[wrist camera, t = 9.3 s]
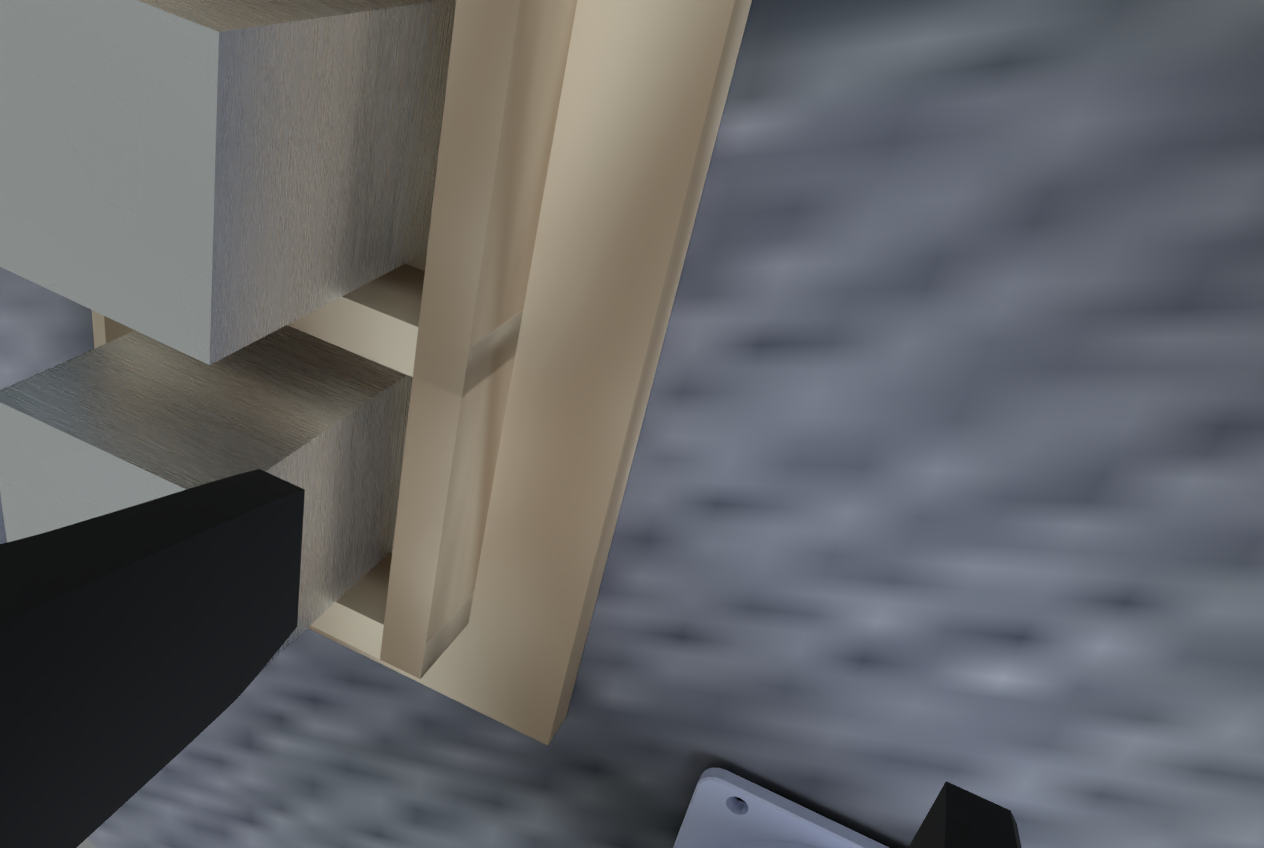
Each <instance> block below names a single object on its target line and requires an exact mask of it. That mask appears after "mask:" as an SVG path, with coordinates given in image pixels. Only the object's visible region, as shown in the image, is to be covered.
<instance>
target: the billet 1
mask: <svg viewBox="0 0 1264 848" xmlns="http://www.w3.org/2000/svg"><path fill="white" fill-rule="evenodd" d="M455 9H456V0H0V267H2V268H4V269H6V270H8V271H10V272H12V273H14V274H16V275H19V276H21V277H23V278H25V279H27V280H29V281H31V282H33V283H36V284H38V285H40V286H42V287H44V288H46V289H48V290H51V291H53V292H55V293H57V294H59V295H61V296H63V297H65V298H68V299H70V300H72V301H74V302H76V303H78V304H80V305H82V306H85V307H87V308H89V309H91V310H93V311H95V312H97V313H99V314H102V315H104V316H106V317H108V318H110V319H112V320H114V321H117V322H119V323H121V324H123V325H125V326H127V327H129V328H131V329H134V330H136V331H138V332H140V333H142V334H144V335H146V336H148V337H151V338H153V339H155V340H157V341H159V342H161V343H163V344H166V345H168V346H170V347H172V348H174V349H176V350H178V351H180V352H183V353H185V354H187V355H189V356H191V357H193V358H195V359H197V360H200V361H202V362H204V363H206V364H208V365H211V364H213V363H214V362H216V361H218V360H220V359H222V358H224V357H226V356H228V355H230V354H232V353H234V352H236V351H238V350H240V349H241V348H243V347H245V346H247V345H249V344H251V343H253V342H255V341H257V340H259V339H261V338H263V337H265V336H266V335H268V334H270V333H272V332H274V331H276V330H278V329H280V328H282V327H284V326H286V325H288V324H290V323H292V322H293V321H295V320H297V319H299V318H301V317H303V316H305V315H307V314H309V313H311V312H313V311H315V310H317V309H319V308H320V307H322V306H324V305H326V304H328V303H330V302H332V301H334V300H336V299H338V298H340V297H342V296H344V295H346V294H347V293H349V292H351V291H353V290H355V289H357V288H359V287H361V286H363V285H365V284H367V283H369V282H371V281H373V280H374V279H376V278H378V277H380V276H382V275H384V274H386V273H388V272H390V271H392V270H394V269H396V268H398V267H400V266H401V265H403V264H405V263H407V262H409V261H411V260H413V259H415V258H417V257H419V256H421V255H423V254H425V253H426V252H427V249H428V241H429V232H430V224H431V215H432V206H433V198H434V189H435V181H436V172H437V163H438V155H439V146H440V138H441V129H442V120H443V112H444V103H445V95H446V86H447V77H448V69H449V60H450V52H451V43H452V34H453V26H454V17H455Z"/></svg>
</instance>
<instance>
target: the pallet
mask: <svg viewBox="0 0 1264 848" xmlns="http://www.w3.org/2000/svg"><path fill="white" fill-rule="evenodd" d="M751 2H752V0H456V9H455V17H454V26H453V34H452V43H451V52H450V60H449V69H448V77H447V86H446V95H445V103H444V112H443V120H442V129H441V138H440V146H439V155H438V163H437V172H436V181H435V189H434V198H433V206H432V215H431V224H430V232H429V241H428V249H427V252H426V253H425V254H423V255H421V256H419V257H417V258H415V259H413V260H411V261H409V262H407V263H405V264H403V265H401V266H400V267H398V268H396V269H394V270H392V271H390V272H388V273H386V274H384V275H382V276H380V277H378V278H376V279H374V280H373V281H371V282H369V283H367V284H365V285H363V286H361V287H359V288H357V289H355V290H353V291H351V292H349V293H347V294H346V295H344V296H342V297H340V298H338V299H336V300H334V301H332V302H330V303H328V304H326V305H324V306H322V307H320V308H319V309H317V310H315V311H313V312H311V313H309V314H307V315H305V316H303V317H301V318H299V319H297V320H295V321H293V322H292V323H290V324H288V326H290V327H293V328H295V329H298V330H300V331H302V332H305V333H307V334H310V335H312V336H314V337H317V338H319V339H322V340H324V341H327V342H329V343H331V344H334V345H336V346H339V347H341V348H343V349H346V350H348V351H351V352H353V353H356V354H358V355H360V356H363V357H365V358H368V359H370V360H372V361H375V362H377V363H380V364H382V365H385V366H387V367H389V368H392V369H394V370H397V371H399V372H401V373H404V374H406V375H409V376H411V377H413V379H412V387H411V396H410V404H409V413H408V422H407V430H406V439H405V447H404V456H403V465H402V473H401V482H400V490H399V499H398V508H397V516H396V525H395V533H394V542H393V550H391V551H390V552H389V553H388V554H387V555H386V556H385V557H384V558H383V559H382V560H381V561H379V562H378V563H377V564H376V565H375V566H374V567H373V568H372V569H371V570H370V571H369V572H368V573H366V574H365V575H364V576H363V577H362V578H361V579H360V580H359V581H358V582H357V583H356V584H355V585H353V586H352V587H351V588H350V589H349V590H348V591H347V592H346V593H345V594H344V595H343V596H341V597H340V598H339V599H338V600H337V601H336V602H335V603H334V604H333V605H332V606H331V607H330V608H328V609H327V610H326V611H325V612H324V613H323V614H322V615H321V616H320V617H319V618H318V619H317V620H315V621H314V622H313V623H312V624H311V625H310V626H309V627H308V628H309V629H311V630H313V631H315V632H317V633H319V634H321V635H323V636H325V637H327V638H329V639H331V640H333V641H335V642H337V643H340V644H342V645H344V646H346V647H348V648H350V649H352V650H354V651H356V652H358V653H360V654H362V655H364V656H366V657H368V658H370V659H372V660H374V661H376V662H378V663H380V664H382V665H384V666H386V667H388V668H390V669H393V670H395V671H397V672H399V673H401V674H403V675H405V676H407V677H409V678H411V679H413V680H415V681H417V682H419V683H421V684H423V685H425V686H427V687H429V688H431V689H433V690H435V691H437V692H439V693H441V694H443V695H446V696H448V697H450V698H452V699H454V700H456V701H458V702H460V703H462V704H464V705H466V706H468V707H470V708H472V709H474V710H476V711H478V712H480V713H482V714H484V715H486V716H488V717H490V718H492V719H494V720H496V721H499V722H501V723H503V724H505V725H507V726H509V727H511V728H513V729H515V730H517V731H519V732H521V733H523V734H525V735H527V736H529V737H531V738H533V739H535V740H537V741H539V742H541V743H543V744H545V745H547V746H548V745H549V743H550V742H551V740H552V738H553V737H554V735H555V734H556V732H557V731H558V729H559V728H560V726H561V724H562V723H563V721H564V720H565V718H566V716H567V712H568V708H569V704H570V700H571V696H572V692H573V689H574V685H575V681H576V677H577V673H578V669H579V665H580V662H581V658H582V654H583V650H584V646H585V642H586V638H587V635H588V631H589V627H590V623H591V619H592V615H593V611H594V608H595V604H596V600H597V596H598V592H599V588H600V584H601V581H602V577H603V573H604V569H605V565H606V561H607V557H608V554H609V550H610V546H611V542H612V538H613V534H614V530H615V527H616V523H617V519H618V515H619V511H620V507H621V503H622V500H623V496H624V492H625V488H626V484H627V480H628V476H629V473H630V469H631V465H632V461H633V457H634V453H635V449H636V446H637V442H638V438H639V434H640V430H641V426H642V422H643V419H644V415H645V411H646V407H647V403H648V399H649V396H650V392H651V388H652V384H653V380H654V376H655V372H656V369H657V365H658V361H659V357H660V353H661V349H662V345H663V342H664V338H665V334H666V330H667V326H668V322H669V318H670V315H671V311H672V307H673V303H674V299H675V295H676V291H677V288H678V284H679V280H680V276H681V272H682V268H683V264H684V261H685V257H686V253H687V249H688V245H689V241H690V237H691V234H692V230H693V226H694V222H695V218H696V214H697V210H698V207H699V203H700V199H701V195H702V191H703V187H704V183H705V180H706V176H707V172H708V168H709V164H710V160H711V156H712V153H713V149H714V145H715V141H716V137H717V133H718V129H719V126H720V122H721V118H722V114H723V110H724V106H725V102H726V99H727V95H728V91H729V87H730V83H731V79H732V75H733V72H734V68H735V64H736V60H737V56H738V52H739V48H740V45H741V41H742V37H743V33H744V29H745V25H746V21H747V18H748V14H749V10H750V6H751ZM92 321H93V335H94V349H95V348H97V347H99V346H101V345H104V344H106V343H108V342H111V341H113V340H115V339H117V338H120V337H122V336H124V335H126V334H129V333H131V332H133V331H135V330H134V329H131V328H129V327H127V326H125V325H123V324H121V323H119V322H117V321H114V320H112V319H110V318H108V317H106V316H104V315H102V314H99V313H97V312H95V311H93V310H92Z"/></svg>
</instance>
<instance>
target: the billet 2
mask: <svg viewBox="0 0 1264 848" xmlns="http://www.w3.org/2000/svg"><path fill="white" fill-rule="evenodd" d="M412 379H413V377H411V376H409V375H406V374H404V373H401V372H399V371H397V370H394V369H392V368H389V367H387V366H385V365H382V364H380V363H377V362H375V361H372V360H370V359H368V358H365V357H363V356H360V355H358V354H356V353H353V352H351V351H348V350H346V349H343V348H341V347H339V346H336V345H334V344H331V343H329V342H327V341H324V340H322V339H319V338H317V337H314V336H312V335H310V334H307V333H305V332H302V331H300V330H298V329H295V328H293V327H290V326H288V325H286V326H284V327H282V328H280V329H278V330H276V331H274V332H272V333H270V334H268V335H266V336H265V337H263V338H261V339H259V340H257V341H255V342H253V343H251V344H249V345H247V346H245V347H243V348H241V349H240V350H238V351H236V352H234V353H232V354H230V355H228V356H226V357H224V358H222V359H220V360H218V361H216V362H214V363H213V364H211V365H208V364H206V363H204V362H202V361H200V360H197V359H195V358H193V357H191V356H189V355H187V354H185V353H183V352H180V351H178V350H176V349H174V348H172V347H170V346H168V345H166V344H163V343H161V342H159V341H157V340H155V339H153V338H151V337H148V336H146V335H144V334H142V333H140V332H138V331H136V330H135V331H133V332H131V333H129V334H126V335H124V336H122V337H120V338H117V339H115V340H113V341H111V342H108V343H106V344H104V345H101V346H99V347H97V348H95V349H92V350H90V351H88V352H86V353H83V354H81V355H79V356H77V357H74V358H72V359H70V360H68V361H65V362H63V363H61V364H58V365H56V366H54V367H52V368H49V369H47V370H45V371H43V372H40V373H38V374H36V375H34V376H31V377H29V378H27V379H25V380H22V381H20V382H18V383H15V384H13V385H11V386H9V387H6V388H4V389H2V390H0V494H1V501H2V509H3V516H4V523H5V531H6V538H7V543H8V542H11V541H15V540H19V539H23V538H26V537H30V536H34V535H38V534H42V533H45V532H48V531H52V530H55V529H59V528H62V527H65V526H69V525H72V524H75V523H79V522H82V521H85V520H88V519H92V518H95V517H98V516H102V515H105V514H108V513H112V512H115V511H118V510H122V509H125V508H128V507H132V506H135V505H138V504H141V503H145V502H148V501H151V500H154V499H157V498H161V497H164V496H167V495H170V494H174V493H177V492H180V491H183V490H186V489H190V488H193V487H196V486H200V485H203V484H206V483H210V482H213V481H216V480H220V479H223V478H227V477H230V476H234V475H237V474H241V473H245V472H249V471H253V470H257V469H261V470H263V471H265V472H267V473H270V474H272V475H274V476H276V477H278V478H281V479H283V480H285V481H287V482H289V483H291V484H294V485H296V486H298V487H300V488H302V489H305V496H304V514H303V532H302V550H301V567H300V585H299V603H298V621H297V628H296V629H295V630H294V631H293V633H292V634H291V635H290V636H289V637H288V639H287V640H286V641H285V642H284V644H283V645H282V646H281V647H280V649H279V650H278V651H277V652H276V653H275V655H274V656H273V657H272V658H271V660H270V661H269V662H268V663H267V665H268V664H269V663H270V662H271V661H272V660H273V659H274V658H275V657H276V656H277V655H279V654H280V653H281V652H282V651H283V650H284V649H285V648H286V647H287V646H288V645H289V644H290V643H292V642H293V641H294V640H295V639H296V638H297V637H298V636H299V635H300V634H301V633H302V632H304V631H305V630H306V629H307V628H308V627H309V626H310V625H311V624H312V623H313V622H314V621H315V620H317V619H318V618H319V617H320V616H321V615H322V614H323V613H324V612H325V611H326V610H327V609H328V608H330V607H331V606H332V605H333V604H334V603H335V602H336V601H337V600H338V599H339V598H340V597H341V596H343V595H344V594H345V593H346V592H347V591H348V590H349V589H350V588H351V587H352V586H353V585H355V584H356V583H357V582H358V581H359V580H360V579H361V578H362V577H363V576H364V575H365V574H366V573H368V572H369V571H370V570H371V569H372V568H373V567H374V566H375V565H376V564H377V563H378V562H379V561H381V560H382V559H383V558H384V557H385V556H386V555H387V554H388V553H389V552H390V551H391V550H393V542H394V533H395V525H396V516H397V508H398V499H399V490H400V482H401V473H402V465H403V456H404V447H405V439H406V430H407V422H408V413H409V404H410V396H411V387H412ZM267 665H266V666H267ZM266 666H265V667H266Z"/></svg>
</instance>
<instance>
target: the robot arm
mask: <svg viewBox="0 0 1264 848" xmlns="http://www.w3.org/2000/svg"><path fill="white" fill-rule="evenodd" d="M304 496H305V489H302V488H300V487H298V486H296V485H294V484H291V483H289V482H287V481H285V480H283V479H281V478H278V477H276V476H274V475H272V474H270V473H267V472H265V471H263V470H261V469H257V470H253V471H249V472H245V473H241V474H237V475H234V476H230V477H227V478H223V479H220V480H216V481H213V482H210V483H206V484H203V485H200V486H196V487H193V488H190V489H186V490H183V491H180V492H177V493H174V494H170V495H167V496H164V497H161V498H157V499H154V500H151V501H148V502H145V503H141V504H138V505H135V506H132V507H128V508H125V509H122V510H118V511H115V512H112V513H108V514H105V515H102V516H98V517H95V518H92V519H88V520H85V521H82V522H79V523H75V524H72V525H69V526H65V527H62V528H59V529H55V530H52V531H48V532H45V533H42V534H38V535H34V536H30V537H26V538H23V539H19V540H15V541H11V542H8V543H4V544H0V848H76V847H78V846H79V845H80V844H81V843H82V842H83V841H84V840H85V839H86V838H87V837H88V836H89V835H91V834H92V833H93V832H94V831H95V830H96V829H97V828H98V827H99V826H100V825H101V824H103V823H104V822H105V821H106V820H107V819H108V818H109V817H110V816H111V815H112V814H113V813H114V812H116V811H117V810H118V809H119V808H120V807H121V806H122V805H123V804H124V803H125V802H126V801H128V800H129V799H130V798H131V797H132V796H133V795H134V794H135V793H136V792H137V791H138V790H140V789H141V788H142V787H143V786H144V785H145V784H146V783H147V782H148V781H149V780H150V779H151V778H153V777H154V776H155V775H156V774H157V773H158V772H159V771H160V770H161V769H162V768H163V767H165V766H166V765H167V764H168V763H169V762H170V761H171V760H172V759H173V758H174V757H175V756H177V755H178V754H179V753H180V752H181V751H182V750H183V749H184V748H185V747H186V746H187V745H188V744H189V743H191V742H192V741H193V740H194V739H195V738H196V737H197V736H198V735H199V734H200V733H201V732H202V731H203V730H204V729H205V728H207V727H208V726H209V725H210V724H211V723H212V722H213V721H214V720H215V719H216V718H217V717H218V716H219V715H220V714H221V713H222V712H224V711H225V710H226V709H227V708H228V707H229V706H230V705H231V704H232V703H233V702H234V701H235V700H236V699H237V698H238V697H239V696H240V695H241V693H242V692H243V691H244V690H245V689H246V688H247V687H248V685H249V684H250V683H251V682H252V681H253V680H254V678H255V677H256V676H257V675H258V674H259V673H260V672H261V670H262V669H263V668H264V667H265V666H266V665H267V663H268V662H269V661H270V660H271V658H272V657H273V656H274V655H275V653H276V652H277V651H278V650H279V649H280V647H281V646H282V645H283V644H284V642H285V641H286V640H287V639H288V637H289V636H290V635H291V634H292V633H293V631H294V630H295V629H296V628H297V621H298V603H299V585H300V567H301V550H302V532H303V514H304ZM735 797H738V798H741V799H742V800H744V801H745V802H742V801H739V800H737V799H736V798H735ZM673 848H889V847H887V846H885V845H883V844H881V843H879V842H876V841H874V840H872V839H870V838H868V837H866V836H864V835H862V834H860V833H858V832H855V831H853V830H851V829H849V828H847V827H845V826H843V825H841V824H839V823H836V822H834V821H832V820H830V819H828V818H826V817H824V816H822V815H820V814H818V813H815V812H813V811H811V810H809V809H807V808H805V807H803V806H801V805H799V804H797V803H794V802H792V801H790V800H788V799H786V798H784V797H782V796H780V795H778V794H776V793H773V792H771V791H769V790H767V789H765V788H763V787H761V786H759V785H757V784H755V783H752V782H750V781H748V780H746V779H744V778H742V777H740V776H738V775H736V774H734V773H731V772H729V771H727V770H724V769H721V768H709V769H707V770H705V771H704V772H703V773H702V775H701V776H700V779H699V781H698V783H697V785H696V788H695V791H694V793H693V796H692V799H691V801H690V804H689V807H688V809H687V812H686V815H685V817H684V820H683V823H682V825H681V828H680V831H679V833H678V836H677V839H676V841H675V844H674V847H673ZM909 848H1021V843H1020V838H1019V833H1018V828H1017V824H1016V822H1015V819H1014V817H1013V815H1012V813H1011V811H1010V810H1008V809H1006V808H1003V807H1001V806H999V805H997V804H995V803H992V802H990V801H988V800H986V799H984V798H981V797H979V796H977V795H975V794H973V793H971V792H968V791H966V790H964V789H962V788H960V787H957V786H955V785H953V784H951V783H949V782H945V784H944V786H943V788H942V789H941V791H940V793H939V795H938V797H937V798H936V800H935V802H934V804H933V805H932V807H931V809H930V811H929V812H928V814H927V816H926V818H925V819H924V821H923V823H922V825H921V826H920V828H919V830H918V832H917V833H916V835H915V837H914V839H913V840H912V842H911V844H910V846H909Z"/></svg>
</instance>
